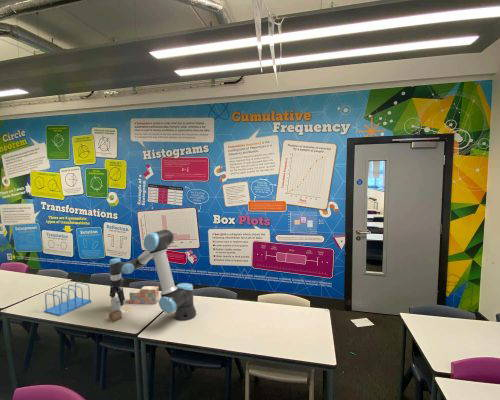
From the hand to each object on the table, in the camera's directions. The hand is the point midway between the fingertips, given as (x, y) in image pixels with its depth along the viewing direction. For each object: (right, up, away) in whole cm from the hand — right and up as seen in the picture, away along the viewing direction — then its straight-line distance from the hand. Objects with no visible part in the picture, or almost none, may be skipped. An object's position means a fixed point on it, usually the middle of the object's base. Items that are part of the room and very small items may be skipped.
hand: (117, 307), depth 204 cm
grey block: (0, -1, 0) cm, 1 cm away
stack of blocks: (+16, -1, +12) cm, 20 cm away
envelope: (+2, -2, -2) cm, 3 cm away
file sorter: (-40, -2, +4) cm, 40 cm away
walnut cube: (+6, -3, -15) cm, 17 cm away
